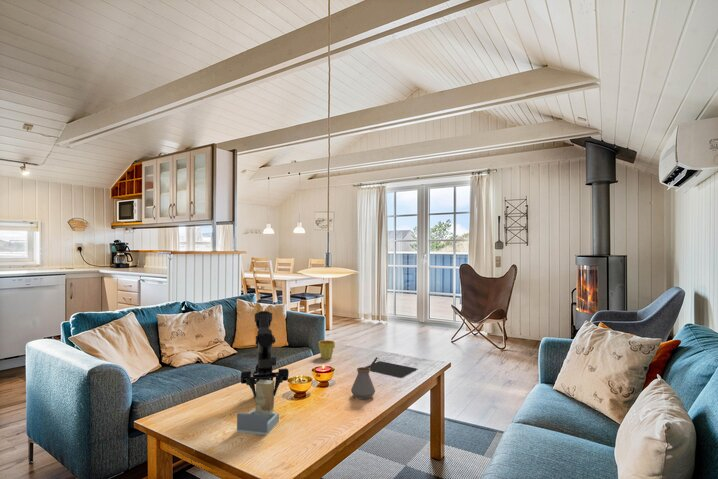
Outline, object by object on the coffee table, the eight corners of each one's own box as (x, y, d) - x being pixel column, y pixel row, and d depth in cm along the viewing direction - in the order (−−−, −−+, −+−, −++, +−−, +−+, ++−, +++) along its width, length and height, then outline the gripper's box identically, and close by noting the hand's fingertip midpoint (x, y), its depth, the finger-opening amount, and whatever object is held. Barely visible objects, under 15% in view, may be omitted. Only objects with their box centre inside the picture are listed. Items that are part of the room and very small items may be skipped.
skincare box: (254, 414, 156) (254, 382, 156) (259, 409, 160) (259, 379, 160) (270, 415, 155) (270, 383, 155) (274, 410, 159) (274, 380, 159)
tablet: (418, 368, 233) (401, 377, 217) (418, 370, 233) (401, 379, 217) (379, 361, 249) (361, 368, 232) (379, 362, 249) (361, 370, 232)
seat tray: (251, 418, 164) (251, 401, 164) (278, 421, 162) (279, 404, 162) (236, 432, 152) (237, 413, 152) (266, 435, 150) (266, 416, 150)
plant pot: (336, 355, 260) (336, 340, 260) (332, 360, 249) (333, 344, 249) (320, 354, 261) (320, 339, 261) (316, 359, 251) (316, 343, 251)
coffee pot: (368, 402, 183) (368, 369, 183) (346, 397, 188) (346, 365, 188) (387, 388, 201) (387, 358, 202) (367, 384, 207) (367, 355, 207)
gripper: (241, 351, 159) (239, 389, 149) (288, 348, 164) (290, 385, 153) (241, 364, 167) (240, 401, 156) (286, 362, 172) (288, 397, 161)
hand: (264, 396), depth 156 cm, fingers closed on skincare box, 7 cm apart
